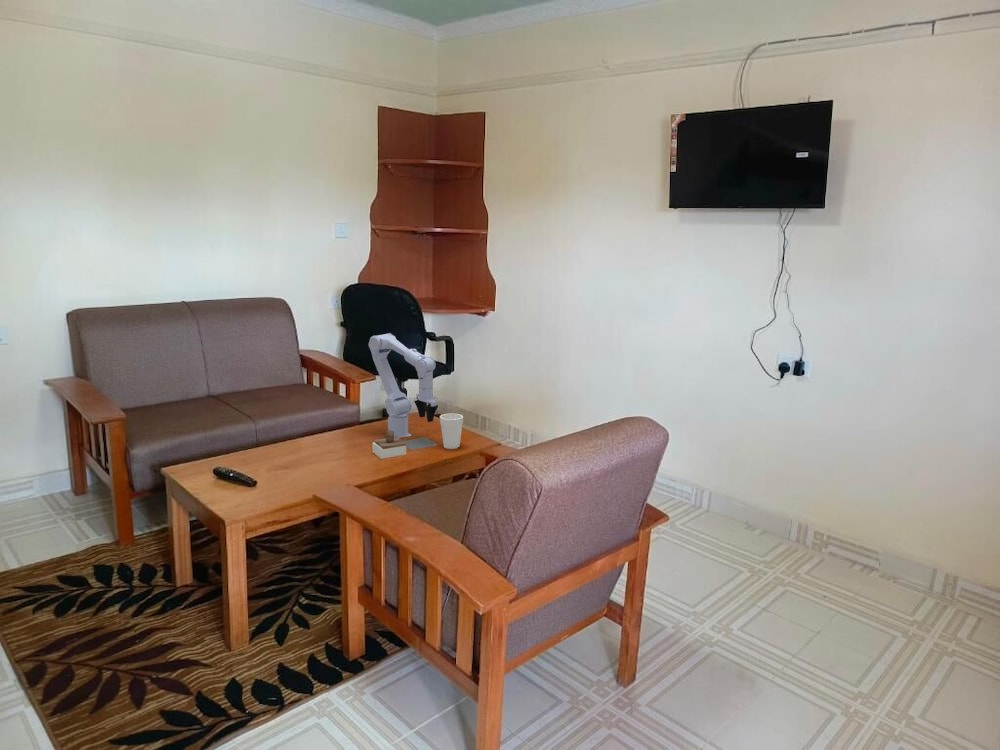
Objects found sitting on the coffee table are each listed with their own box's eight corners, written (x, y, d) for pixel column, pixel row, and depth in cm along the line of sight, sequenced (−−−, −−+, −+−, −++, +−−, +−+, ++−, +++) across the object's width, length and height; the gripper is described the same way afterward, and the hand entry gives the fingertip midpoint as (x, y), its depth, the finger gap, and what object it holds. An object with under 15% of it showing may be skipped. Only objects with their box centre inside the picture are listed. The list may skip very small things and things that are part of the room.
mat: (399, 442, 292) (399, 441, 292) (425, 438, 298) (425, 437, 298) (411, 450, 282) (411, 449, 282) (438, 446, 288) (438, 445, 288)
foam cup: (464, 444, 291) (464, 414, 288) (461, 451, 282) (461, 420, 279) (442, 443, 291) (441, 413, 289) (437, 450, 282) (437, 419, 280)
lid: (374, 442, 279) (374, 430, 278) (397, 438, 284) (396, 427, 282) (383, 449, 271) (382, 436, 270) (406, 445, 275) (405, 433, 274)
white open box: (372, 452, 280) (372, 442, 279) (396, 448, 285) (395, 438, 284) (382, 459, 271) (382, 449, 270) (406, 455, 276) (406, 445, 275)
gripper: (442, 389, 283) (442, 422, 286) (427, 382, 295) (427, 413, 298) (426, 391, 280) (427, 424, 283) (411, 384, 292) (412, 416, 295)
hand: (426, 419), depth 290 cm, fingers open, 7 cm apart
